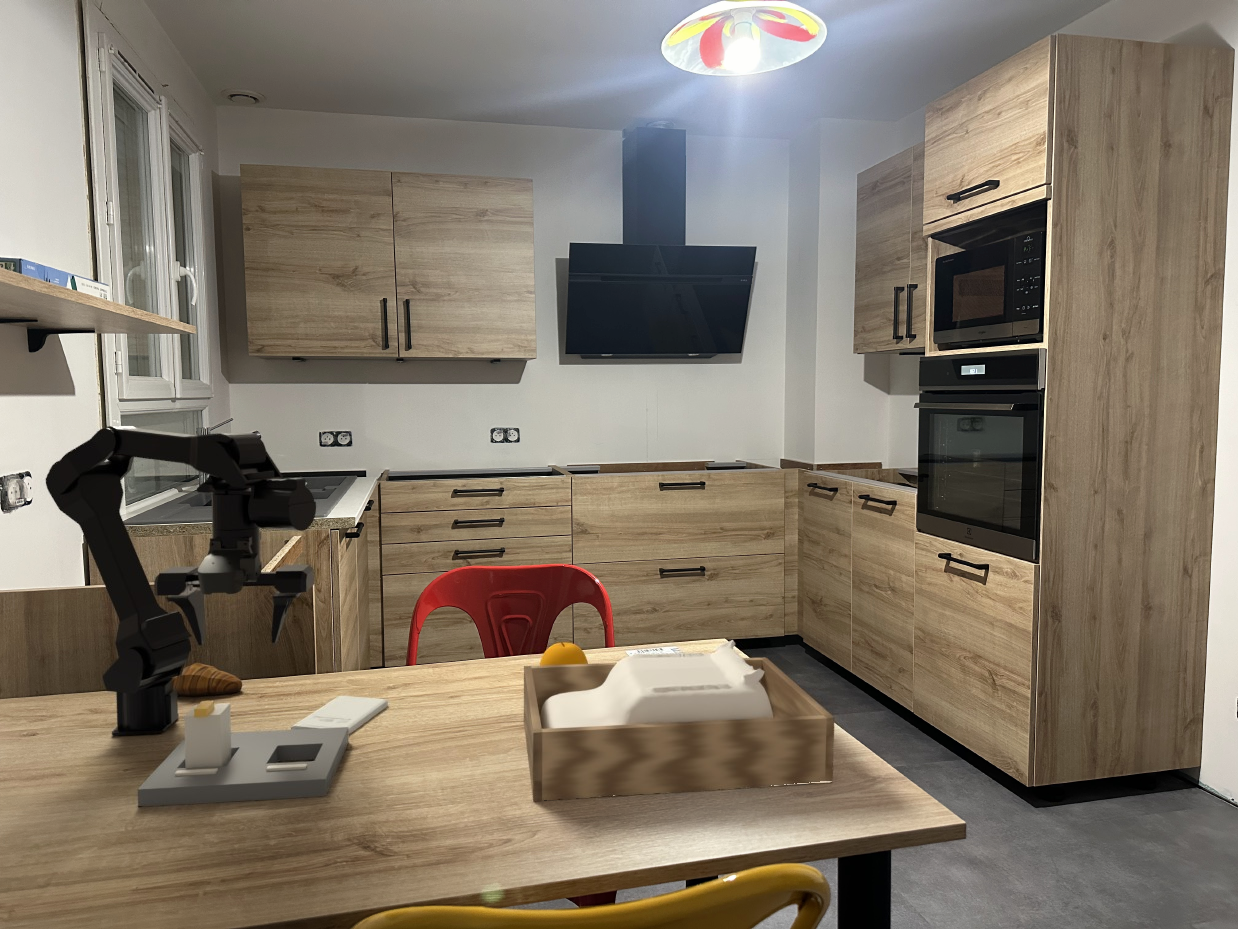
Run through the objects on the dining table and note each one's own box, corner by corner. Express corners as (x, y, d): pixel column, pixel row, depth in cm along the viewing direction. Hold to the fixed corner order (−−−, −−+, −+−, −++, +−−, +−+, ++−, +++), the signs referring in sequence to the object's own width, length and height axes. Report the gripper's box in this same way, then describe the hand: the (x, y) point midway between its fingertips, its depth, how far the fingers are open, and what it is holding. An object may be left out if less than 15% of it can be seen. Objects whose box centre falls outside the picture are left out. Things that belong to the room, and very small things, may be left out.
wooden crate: (533, 801, 95) (533, 732, 95) (523, 721, 120) (523, 666, 119) (832, 782, 101) (834, 717, 100) (764, 709, 125) (766, 657, 125)
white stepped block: (789, 784, 101) (791, 675, 100) (539, 798, 97) (540, 684, 96) (743, 725, 120) (745, 633, 119) (533, 735, 116) (533, 639, 115)
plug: (184, 784, 99) (182, 709, 98) (197, 768, 103) (195, 696, 103) (220, 782, 99) (218, 708, 99) (231, 766, 104) (230, 695, 103)
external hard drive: (387, 709, 126) (345, 741, 113) (338, 705, 127) (290, 736, 115) (387, 699, 125) (345, 729, 113) (338, 695, 127) (290, 724, 115)
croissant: (141, 702, 127) (140, 669, 127) (163, 687, 134) (163, 656, 133) (232, 701, 128) (232, 669, 127) (250, 686, 134) (249, 656, 134)
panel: (138, 807, 93) (137, 786, 93) (188, 749, 109) (188, 732, 108) (325, 796, 96) (325, 776, 96) (348, 741, 112) (348, 724, 112)
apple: (587, 697, 130) (587, 650, 130) (536, 696, 130) (536, 649, 130) (589, 681, 138) (590, 636, 138) (542, 680, 138) (542, 635, 138)
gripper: (134, 537, 101) (137, 664, 102) (296, 535, 104) (297, 659, 105) (169, 525, 112) (172, 639, 113) (314, 523, 115) (316, 635, 116)
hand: (238, 643), depth 112 cm, fingers open, 9 cm apart
